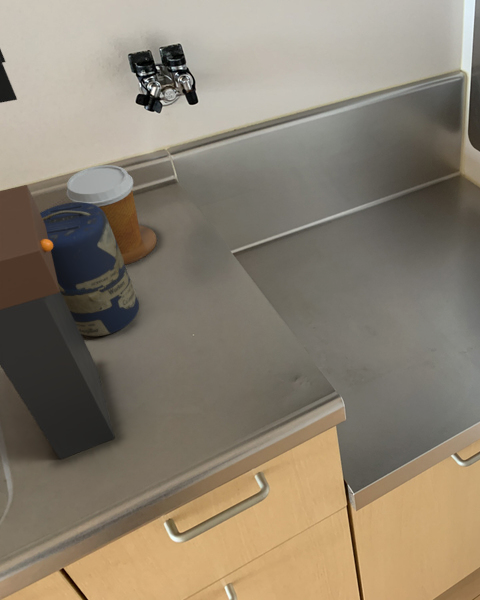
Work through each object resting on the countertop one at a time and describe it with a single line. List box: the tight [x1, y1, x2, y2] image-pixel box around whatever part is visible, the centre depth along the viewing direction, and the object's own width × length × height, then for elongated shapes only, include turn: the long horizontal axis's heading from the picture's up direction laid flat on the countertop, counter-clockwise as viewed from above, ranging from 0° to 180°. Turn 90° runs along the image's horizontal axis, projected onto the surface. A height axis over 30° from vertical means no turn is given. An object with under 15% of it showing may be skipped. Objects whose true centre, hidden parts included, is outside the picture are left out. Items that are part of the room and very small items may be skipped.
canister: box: [40, 201, 140, 337], centre depth 81 cm, size 10×10×18 cm
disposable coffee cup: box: [66, 164, 141, 254], centre depth 96 cm, size 10×10×12 cm
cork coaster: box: [121, 224, 158, 266], centre depth 100 cm, size 11×11×1 cm
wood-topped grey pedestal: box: [0, 184, 116, 460], centre depth 67 cm, size 8×13×27 cm, turn 29°
